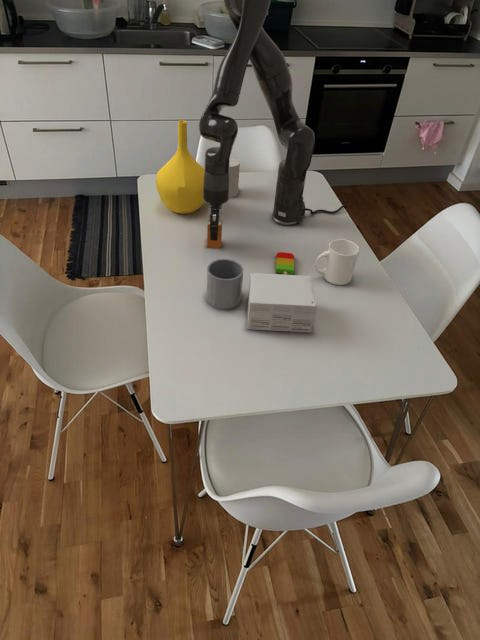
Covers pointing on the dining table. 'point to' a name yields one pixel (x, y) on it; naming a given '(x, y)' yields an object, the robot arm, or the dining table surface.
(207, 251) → the dining table surface
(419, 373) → the dining table surface
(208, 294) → the steel cup
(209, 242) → the juice carton
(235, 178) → the cup
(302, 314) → the supplement box
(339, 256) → the mug
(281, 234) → the dining table surface
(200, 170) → the vase
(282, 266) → the popsicle
